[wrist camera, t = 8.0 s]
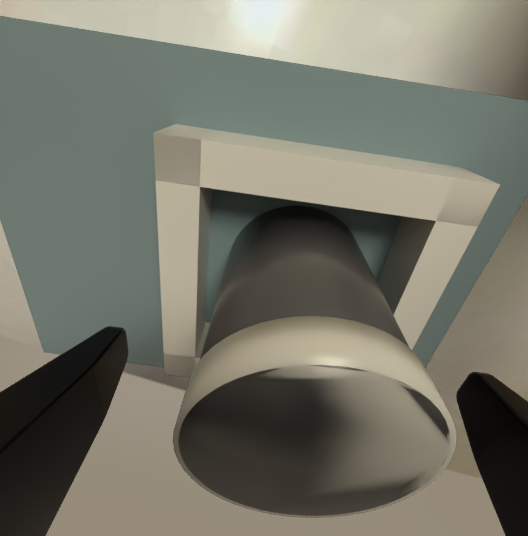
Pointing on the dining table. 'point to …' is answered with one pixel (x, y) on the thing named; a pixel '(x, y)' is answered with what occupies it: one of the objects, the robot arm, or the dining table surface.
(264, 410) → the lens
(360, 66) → the dining table surface
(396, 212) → the teal base with frame
